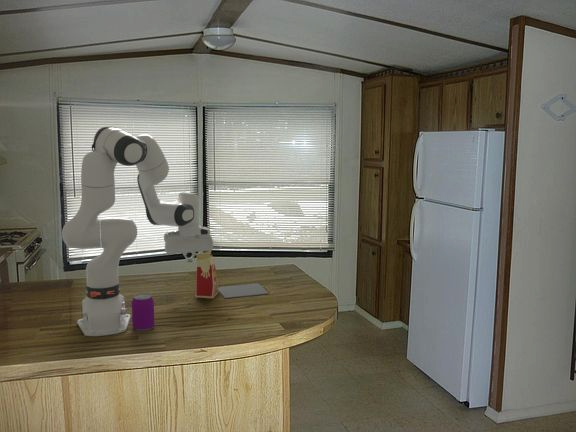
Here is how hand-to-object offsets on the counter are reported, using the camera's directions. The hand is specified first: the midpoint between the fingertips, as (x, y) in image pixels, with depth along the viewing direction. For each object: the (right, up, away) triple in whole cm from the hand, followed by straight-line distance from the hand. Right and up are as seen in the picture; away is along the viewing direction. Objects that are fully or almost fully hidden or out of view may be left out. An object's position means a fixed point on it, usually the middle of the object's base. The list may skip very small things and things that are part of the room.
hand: (189, 262), depth 224 cm
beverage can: (-10, -21, -34) cm, 41 cm away
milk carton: (+6, -15, +5) cm, 17 cm away
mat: (+22, -14, +11) cm, 28 cm away
